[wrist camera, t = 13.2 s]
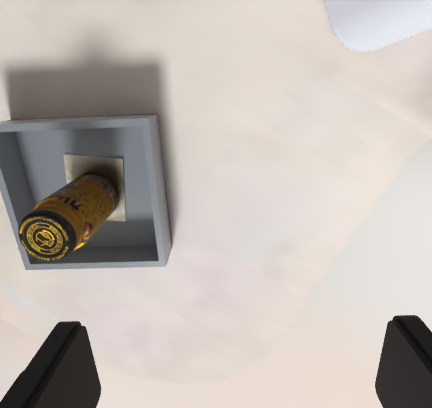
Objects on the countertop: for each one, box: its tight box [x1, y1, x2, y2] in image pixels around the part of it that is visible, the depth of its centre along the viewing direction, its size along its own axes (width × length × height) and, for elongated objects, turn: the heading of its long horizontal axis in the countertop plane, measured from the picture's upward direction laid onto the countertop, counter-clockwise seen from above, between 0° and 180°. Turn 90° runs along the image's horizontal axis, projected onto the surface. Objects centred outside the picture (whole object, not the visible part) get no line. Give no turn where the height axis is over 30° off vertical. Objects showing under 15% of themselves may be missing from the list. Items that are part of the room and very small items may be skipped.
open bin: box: [0, 114, 172, 270], centre depth 37 cm, size 18×18×5 cm
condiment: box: [18, 154, 126, 261], centre depth 33 cm, size 7×8×12 cm
